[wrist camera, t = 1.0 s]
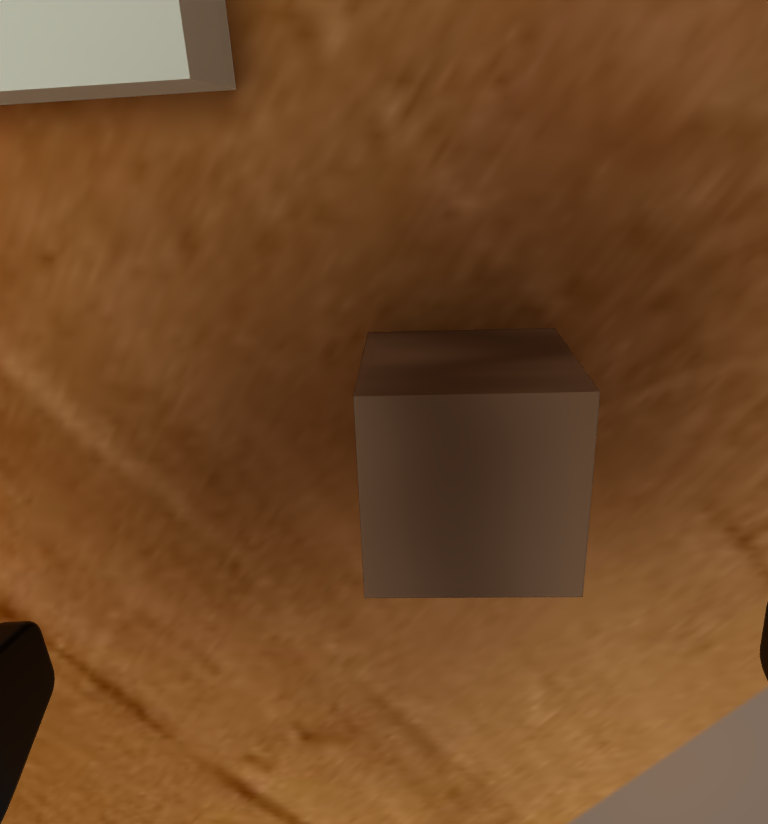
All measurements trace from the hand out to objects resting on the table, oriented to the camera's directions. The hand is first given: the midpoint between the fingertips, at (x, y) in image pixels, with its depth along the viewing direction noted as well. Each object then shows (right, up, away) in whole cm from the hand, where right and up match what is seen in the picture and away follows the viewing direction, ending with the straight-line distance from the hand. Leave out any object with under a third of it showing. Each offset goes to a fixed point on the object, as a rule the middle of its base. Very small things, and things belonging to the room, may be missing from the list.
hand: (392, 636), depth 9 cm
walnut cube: (+2, +3, +11) cm, 12 cm away
